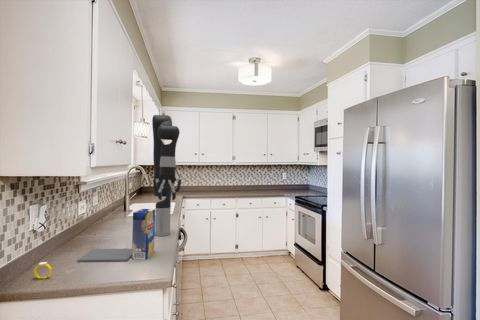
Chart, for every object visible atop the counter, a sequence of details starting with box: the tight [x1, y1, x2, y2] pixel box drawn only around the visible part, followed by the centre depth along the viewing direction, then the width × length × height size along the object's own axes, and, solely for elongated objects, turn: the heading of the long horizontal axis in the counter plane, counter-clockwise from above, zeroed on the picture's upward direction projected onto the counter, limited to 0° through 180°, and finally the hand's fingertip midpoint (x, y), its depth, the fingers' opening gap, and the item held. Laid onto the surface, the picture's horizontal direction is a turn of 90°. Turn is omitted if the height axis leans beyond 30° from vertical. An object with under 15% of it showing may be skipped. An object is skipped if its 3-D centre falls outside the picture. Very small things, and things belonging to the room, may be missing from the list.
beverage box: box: [131, 208, 156, 261], centre depth 138 cm, size 7×11×22 cm, turn 178°
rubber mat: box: [76, 248, 132, 263], centre depth 136 cm, size 16×22×1 cm
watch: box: [33, 261, 53, 280], centre depth 110 cm, size 6×3×6 cm, turn 97°
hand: (166, 199), depth 139 cm, fingers open, 5 cm apart
